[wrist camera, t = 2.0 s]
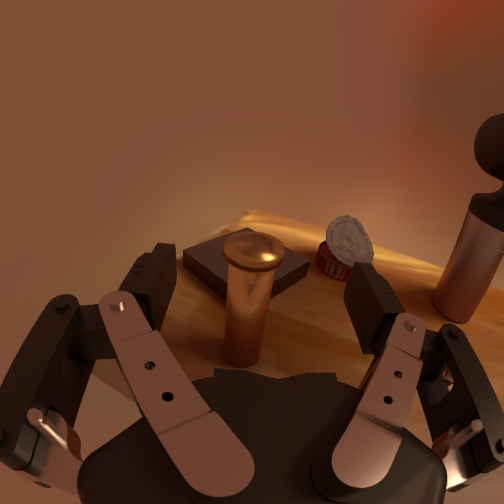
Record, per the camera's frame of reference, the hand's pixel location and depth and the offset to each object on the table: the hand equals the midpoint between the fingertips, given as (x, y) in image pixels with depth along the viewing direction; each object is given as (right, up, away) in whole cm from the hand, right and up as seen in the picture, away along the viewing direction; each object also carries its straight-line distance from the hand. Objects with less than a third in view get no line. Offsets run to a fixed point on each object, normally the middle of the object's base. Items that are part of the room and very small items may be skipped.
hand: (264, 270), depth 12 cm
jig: (-2, -2, +32) cm, 33 cm away
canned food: (+16, -2, +37) cm, 40 cm away
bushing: (-2, -11, +18) cm, 21 cm away
